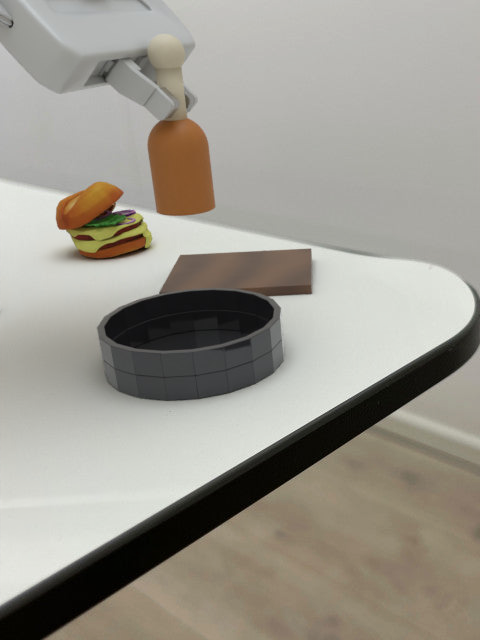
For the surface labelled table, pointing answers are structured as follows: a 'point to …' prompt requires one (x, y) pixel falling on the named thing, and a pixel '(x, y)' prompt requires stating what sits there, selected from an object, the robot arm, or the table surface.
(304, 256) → the board
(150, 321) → the pan
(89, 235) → the cheeseburger
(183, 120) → the drumstick
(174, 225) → the table surface
